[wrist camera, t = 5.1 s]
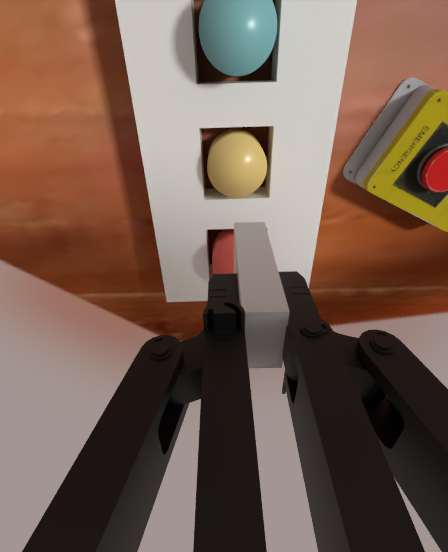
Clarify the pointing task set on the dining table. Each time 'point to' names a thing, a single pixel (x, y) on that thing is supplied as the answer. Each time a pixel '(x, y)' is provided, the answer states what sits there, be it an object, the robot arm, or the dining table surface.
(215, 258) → the red button
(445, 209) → the emergency button
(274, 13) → the teal button
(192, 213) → the button panel
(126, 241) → the dining table surface
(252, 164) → the ochre button
